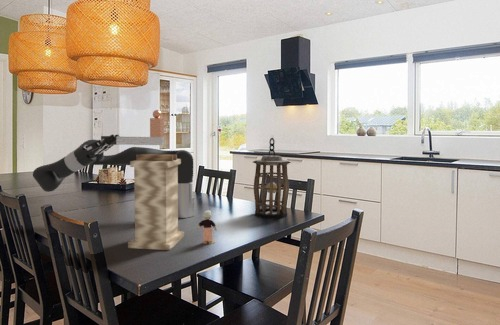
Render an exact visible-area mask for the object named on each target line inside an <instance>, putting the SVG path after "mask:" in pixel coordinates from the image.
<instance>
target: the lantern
mask: <svg viewBox="0 0 500 325" xmlns="http://www.w3.org/2000/svg"><path fill="white" fill-rule="evenodd" d="M275 142H276V141H275V139H274V138H273V137H270V138H269V147H268V148H269V150H268V154H267V155H262V156H261V159H255V160H254V161H252V163H254V164H255V173H254V179H253V196H254V203H255V204H254V206H255V211H254V216H255V217H257V218H260V217H261V218H262V219H268V218H274V220H276V218H277V219H283V218H285V217H287V216H288V215H287V205H288V204H287V203H288V196H289V190H290V182H289V177H288V165H289V164H292V162H291V161H289V160H287V159H286V160H285V159H283V158H282V156H281V155H276V152H275ZM271 153H273V154H272V155H271ZM261 166H262V167H261ZM267 166H269V172H267ZM274 166H276V172H274ZM261 168H262V172H261ZM260 178H261V183H260ZM266 178H267V179H268V178H269V182H268V183H266ZM274 179H276V180H277V183H276V182H275V181H274ZM282 182H283V184H282ZM260 190H261V199H260ZM266 192H267V193H269V198H268V199H266ZM273 194H276V197H275V198H276V200H275V199H273V197H274V195H273ZM281 196H282V197H281ZM266 203H268V204H266ZM274 203H275V204H274Z"/></svg>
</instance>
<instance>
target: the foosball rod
mask: <svg viewBox="0 0 500 325" xmlns="http://www.w3.org/2000/svg"><path fill="white" fill-rule="evenodd" d="M152 117H153V118H152ZM152 117H151V118H149V136H120V135H119V136H115V135H114V136H115V138H116V140H114V141H112V142H111V143H109V144H107V145H113V146H114V145H115V146H116V145H118V146H119V145H121V146H122V145H123V146H124V145H126V146H127V145H128V146H131V145H132V146H133V145H134V146H135V145H136V146H165V145H166V136H165V118H161V117H162V111H160V110H158V109H155V110H154V111H152ZM109 136H110V135H101V136H100V140H102V139H105V138H107V137H109Z"/></svg>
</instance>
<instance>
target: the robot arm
mask: <svg viewBox="0 0 500 325" xmlns="http://www.w3.org/2000/svg"><path fill="white" fill-rule="evenodd" d="M108 136H109V137H107V138H105V139H102V140H101V139H88V140H86V141H84V142H83V143H81V144H80V145H79V146H78V147H76V148H75V149H74V150H72V151H70V152H69V153H68V154H67V155H66V156H64V157H62V158H60V159H59V160H57V161H55V162H52V163H49V164H45V165H40V166H38V167H36V168H35V169H34V170H33V172H32V177H33V179H34V180H35V181H36V182H37V184H38V185H39V186H40V188H41V189H42V190H43V191H44V192H46V193H47V192H49V193H50V192H53V191H55V190H57V189H58V188H59V186H60V185H61V184H62V182H63V181H64V180H65V178H68V177H69V176H71V175H73V174H75V173H76V172H77V171H80V170H82V169H84V168H86V167H88V166H89V165H91V166H108V165H109V166H115V165H117V166H119V165H121V166H130V161H135V160H136V155H141V154H165V155H177V159H181V164H179V165H178V219H179V218H180V219H186V218H187V219H188V218H191V217H195V196H194V194H193V191H194V190H193V186H194V185H193V184H194V157H193V155H192V153H191V152H189V151H188V150H185V149H180V150H179V149H178V150H163V149H157V148H150V147H144V146H143V147H142V146H141V147H140V146H131V147H129V148H126V149H124V150H122V151H119V152H118V153H116V154H115V153H114V154H110V155H104V152H107V151H108V150H109V149H111V148H112V147H114V145H107V144H109V143H111V142H112V141H114V140H116V138H115V136H120V135H119V134H111V135H108Z"/></svg>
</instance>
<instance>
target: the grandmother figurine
mask: <svg viewBox="0 0 500 325" xmlns="http://www.w3.org/2000/svg"><path fill="white" fill-rule="evenodd" d="M202 217H203V218H204V219H203V220H201V221H200V222H198V225H197V229H198V230H200V229H201V227H202V228H203V229H202V239H203V240H202V241H203V242H202V244H205V245H206V244H209V245H212V244H215V243H216V242H215V240H214V234H213V229H214V231H215V232H216V231H217V230H218V229H217V226H216V225H217V224H216V223H215V222H214V221H213V220H211V218H212V211H211V210H205V211H204V213H203V214H202Z"/></svg>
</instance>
